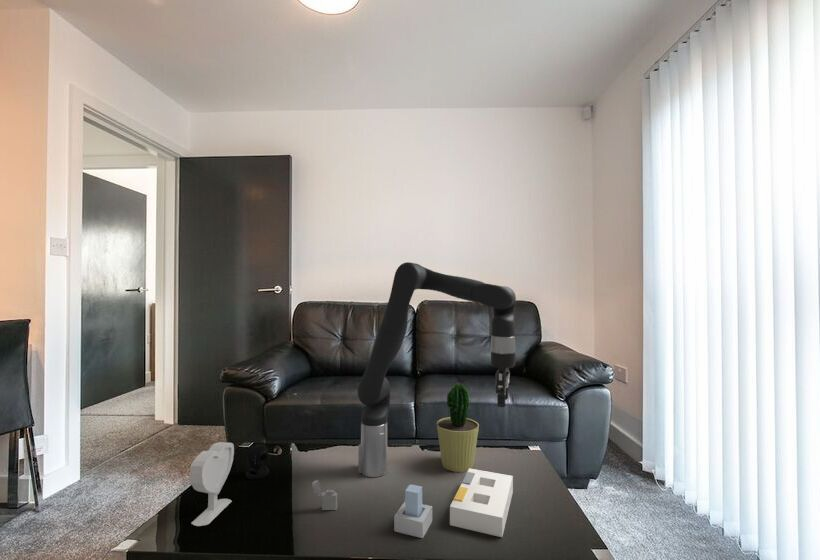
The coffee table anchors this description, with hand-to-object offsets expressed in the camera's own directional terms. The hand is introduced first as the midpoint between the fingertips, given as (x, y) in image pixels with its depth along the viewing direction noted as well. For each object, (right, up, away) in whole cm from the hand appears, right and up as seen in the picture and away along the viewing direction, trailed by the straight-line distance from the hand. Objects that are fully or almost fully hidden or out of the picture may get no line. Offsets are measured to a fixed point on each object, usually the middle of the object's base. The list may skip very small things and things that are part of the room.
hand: (502, 402), depth 119 cm
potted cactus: (-11, -30, +21) cm, 38 cm away
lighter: (-54, -29, -8) cm, 61 cm away
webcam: (-81, -29, +13) cm, 87 cm away
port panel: (-7, -29, -6) cm, 30 cm away
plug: (-28, -28, -15) cm, 43 cm away
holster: (-28, -28, -15) cm, 43 cm away
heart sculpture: (-85, -29, -9) cm, 90 cm away
